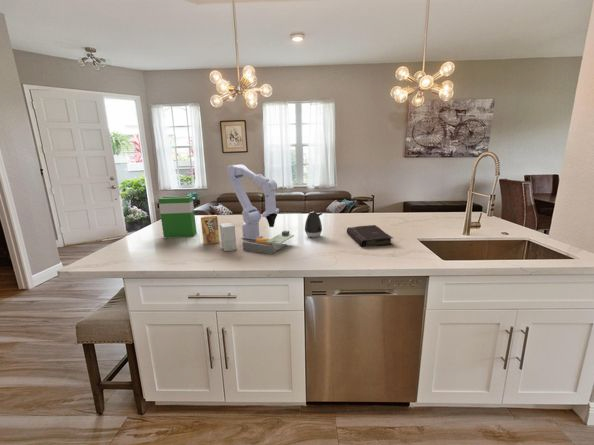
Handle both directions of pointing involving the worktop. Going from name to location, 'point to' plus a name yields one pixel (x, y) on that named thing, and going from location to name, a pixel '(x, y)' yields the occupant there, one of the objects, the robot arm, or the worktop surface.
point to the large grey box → (262, 247)
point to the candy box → (210, 229)
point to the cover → (280, 238)
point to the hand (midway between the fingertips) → (271, 226)
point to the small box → (228, 236)
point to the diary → (369, 236)
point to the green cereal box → (177, 216)
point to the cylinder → (262, 241)
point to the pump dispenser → (313, 224)
